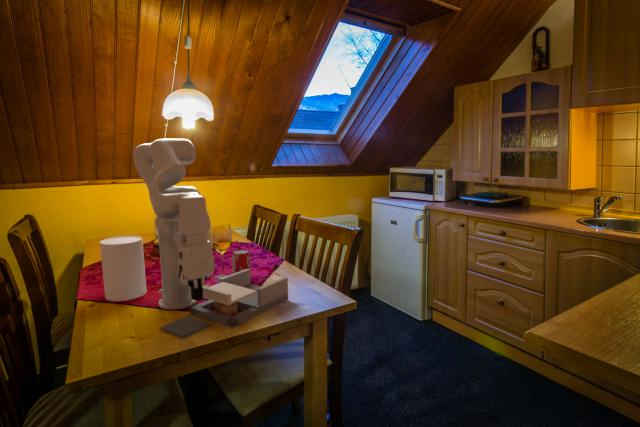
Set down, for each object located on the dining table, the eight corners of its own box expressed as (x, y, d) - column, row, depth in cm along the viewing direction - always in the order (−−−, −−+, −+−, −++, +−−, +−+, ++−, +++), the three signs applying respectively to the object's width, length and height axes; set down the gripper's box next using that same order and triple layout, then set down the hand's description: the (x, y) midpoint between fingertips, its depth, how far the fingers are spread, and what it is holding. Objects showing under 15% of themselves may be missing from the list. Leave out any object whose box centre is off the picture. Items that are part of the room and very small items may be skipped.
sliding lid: (194, 294, 130) (193, 285, 129) (222, 284, 140) (222, 275, 139) (228, 305, 121) (228, 294, 121) (256, 293, 131) (256, 283, 130)
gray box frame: (190, 313, 131) (188, 289, 130) (247, 289, 153) (247, 268, 151) (232, 327, 121) (231, 301, 120) (288, 300, 142) (287, 277, 141)
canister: (120, 303, 140) (114, 246, 136) (97, 296, 147) (91, 241, 143) (154, 291, 151) (150, 238, 148) (131, 285, 158) (127, 234, 155)
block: (215, 314, 131) (214, 296, 130) (226, 309, 135) (226, 291, 134) (226, 318, 128) (225, 299, 127) (237, 312, 132) (237, 294, 131)
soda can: (247, 285, 158) (246, 254, 156) (229, 283, 159) (228, 253, 157) (253, 279, 164) (252, 249, 162) (236, 278, 166) (235, 249, 164)
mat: (160, 329, 120) (160, 327, 120) (188, 317, 128) (188, 315, 128) (182, 338, 114) (182, 336, 114) (210, 325, 122) (210, 323, 122)
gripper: (180, 245, 110) (184, 310, 113) (222, 235, 122) (225, 294, 125) (163, 241, 114) (167, 304, 117) (205, 232, 126) (208, 289, 129)
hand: (197, 299), depth 121 cm, fingers closed
